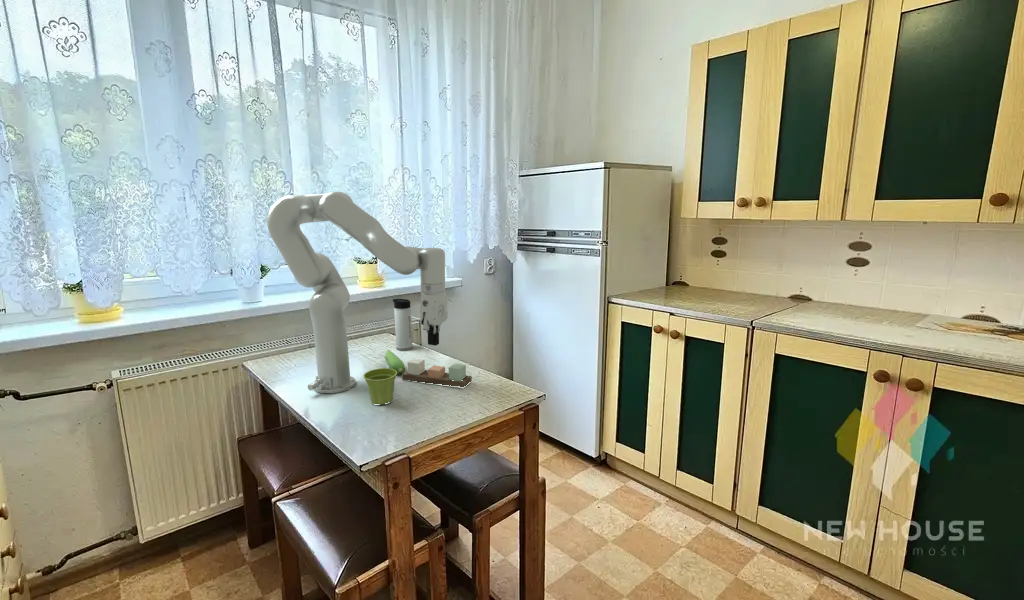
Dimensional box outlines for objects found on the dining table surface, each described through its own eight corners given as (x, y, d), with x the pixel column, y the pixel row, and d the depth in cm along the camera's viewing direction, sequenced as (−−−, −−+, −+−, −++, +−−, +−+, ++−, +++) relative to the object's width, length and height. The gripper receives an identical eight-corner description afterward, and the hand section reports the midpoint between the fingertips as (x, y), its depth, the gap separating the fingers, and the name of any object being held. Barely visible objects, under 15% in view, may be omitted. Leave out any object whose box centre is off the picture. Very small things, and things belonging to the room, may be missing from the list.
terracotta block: (439, 382, 156) (439, 370, 155) (428, 381, 157) (427, 369, 157) (445, 378, 160) (444, 366, 159) (434, 376, 161) (434, 365, 160)
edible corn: (390, 366, 161) (403, 360, 162) (380, 350, 178) (392, 345, 180) (395, 380, 162) (408, 374, 164) (385, 363, 180) (396, 358, 181)
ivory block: (418, 375, 158) (418, 363, 157) (407, 373, 160) (407, 362, 159) (424, 371, 162) (424, 359, 161) (414, 369, 163) (413, 358, 162)
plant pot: (382, 411, 137) (380, 382, 135) (358, 404, 142) (356, 376, 140) (405, 399, 145) (403, 371, 143) (381, 393, 150) (379, 366, 148)
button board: (463, 388, 152) (463, 382, 152) (402, 380, 160) (402, 374, 159) (471, 382, 158) (471, 376, 157) (412, 373, 165) (412, 368, 165)
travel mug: (394, 347, 193) (391, 298, 189) (410, 345, 196) (408, 296, 192) (397, 352, 188) (394, 301, 183) (414, 349, 190) (411, 299, 186)
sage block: (460, 381, 153) (460, 369, 152) (449, 379, 155) (448, 367, 154) (466, 376, 157) (465, 364, 156) (454, 375, 158) (454, 363, 157)
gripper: (431, 293, 144) (432, 352, 148) (454, 285, 158) (454, 339, 162) (409, 291, 146) (410, 349, 150) (434, 283, 160) (434, 336, 164)
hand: (433, 344), depth 156 cm, fingers closed
